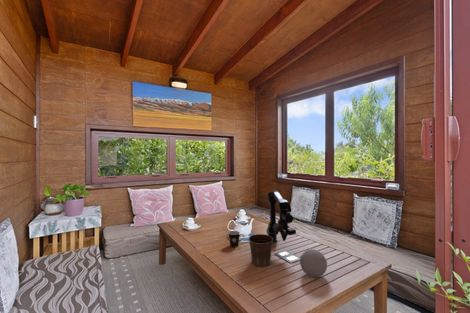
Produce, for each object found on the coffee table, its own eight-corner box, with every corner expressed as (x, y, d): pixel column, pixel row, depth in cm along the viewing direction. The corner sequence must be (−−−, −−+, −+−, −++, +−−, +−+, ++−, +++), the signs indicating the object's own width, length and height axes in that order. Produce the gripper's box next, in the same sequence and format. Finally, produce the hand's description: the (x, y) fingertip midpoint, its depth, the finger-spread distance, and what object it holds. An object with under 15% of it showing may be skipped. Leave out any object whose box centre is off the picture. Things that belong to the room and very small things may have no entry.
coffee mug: (226, 246, 179) (226, 233, 179) (232, 242, 187) (231, 230, 187) (240, 249, 174) (239, 235, 174) (245, 244, 181) (244, 232, 181)
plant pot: (272, 270, 142) (271, 244, 142) (246, 267, 146) (246, 242, 146) (274, 258, 158) (274, 235, 157) (251, 256, 162) (251, 233, 161)
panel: (285, 251, 169) (285, 250, 169) (301, 259, 155) (301, 258, 155) (274, 254, 164) (274, 253, 164) (290, 263, 150) (290, 262, 150)
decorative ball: (295, 275, 135) (295, 250, 135) (307, 266, 145) (307, 243, 145) (320, 286, 124) (319, 258, 124) (331, 275, 135) (331, 250, 135)
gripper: (266, 217, 166) (266, 238, 167) (283, 224, 150) (284, 247, 150) (278, 215, 172) (278, 236, 172) (296, 221, 156) (296, 244, 156)
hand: (283, 240), depth 163 cm, fingers closed
